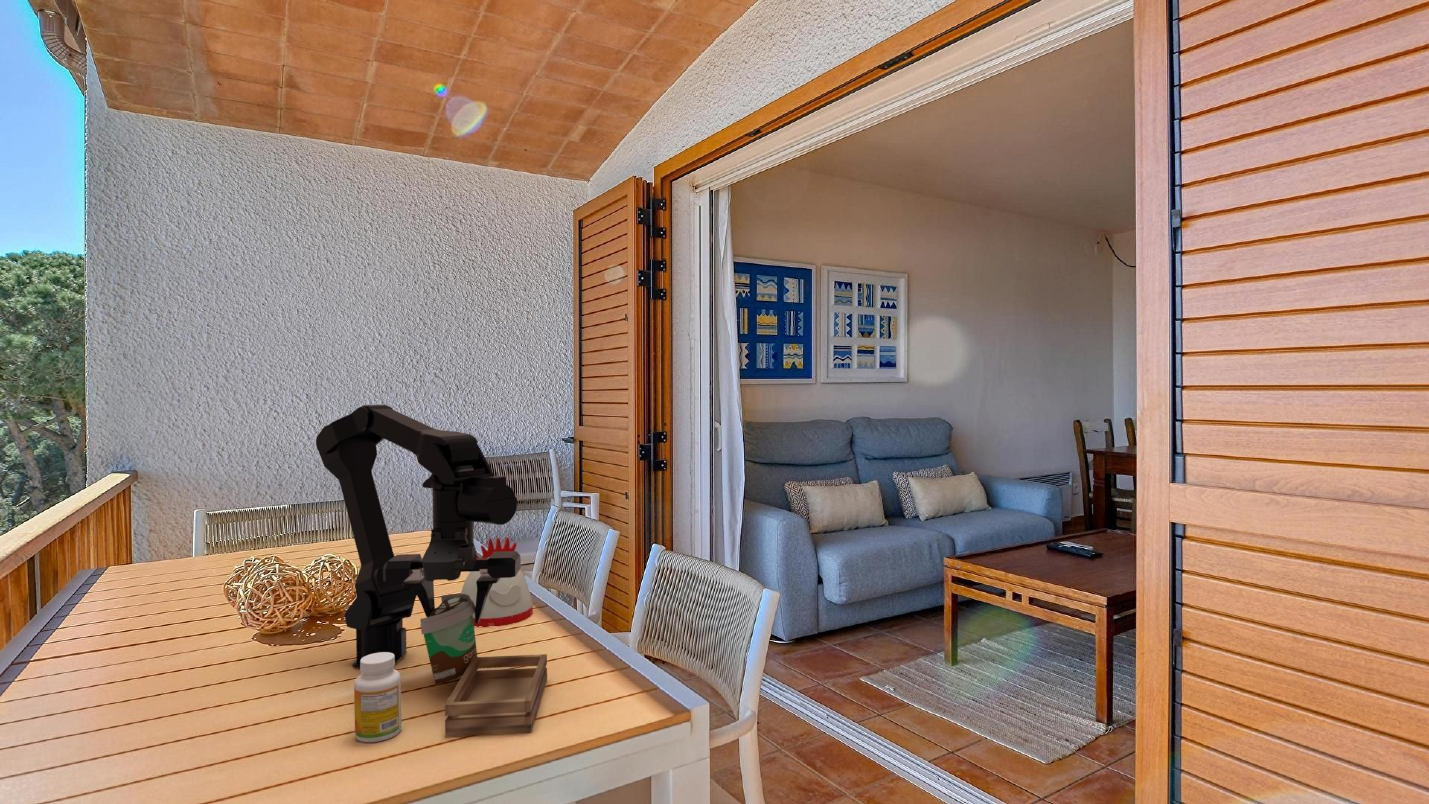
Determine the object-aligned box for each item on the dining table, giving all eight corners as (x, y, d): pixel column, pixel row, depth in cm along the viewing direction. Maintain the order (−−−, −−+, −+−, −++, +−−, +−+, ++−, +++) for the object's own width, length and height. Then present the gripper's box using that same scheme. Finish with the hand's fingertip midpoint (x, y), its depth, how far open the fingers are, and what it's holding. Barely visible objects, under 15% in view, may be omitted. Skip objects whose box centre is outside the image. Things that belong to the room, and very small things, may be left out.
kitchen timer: (543, 618, 141) (542, 539, 141) (469, 632, 133) (468, 549, 133) (517, 601, 153) (517, 528, 152) (448, 613, 145) (447, 536, 145)
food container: (476, 680, 105) (463, 611, 105) (432, 689, 105) (418, 620, 104) (493, 648, 118) (481, 587, 117) (453, 656, 117) (441, 594, 116)
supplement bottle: (364, 724, 97) (363, 650, 97) (407, 723, 97) (406, 649, 97) (347, 744, 92) (346, 666, 91) (393, 742, 92) (392, 664, 92)
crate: (445, 736, 93) (444, 705, 93) (474, 684, 110) (473, 657, 110) (531, 732, 94) (530, 700, 94) (547, 680, 111) (546, 654, 111)
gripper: (368, 531, 102) (370, 644, 102) (508, 527, 104) (509, 638, 104) (394, 517, 113) (396, 619, 113) (520, 514, 115) (521, 614, 115)
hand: (454, 623), depth 111 cm, fingers closed on food container, 6 cm apart
